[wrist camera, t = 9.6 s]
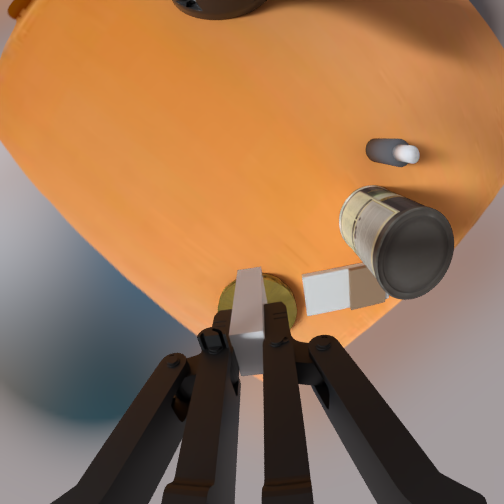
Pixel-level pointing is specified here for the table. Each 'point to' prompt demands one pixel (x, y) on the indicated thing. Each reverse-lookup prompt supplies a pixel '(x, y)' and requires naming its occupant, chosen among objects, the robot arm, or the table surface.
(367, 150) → the grey white-capped bottle
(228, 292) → the olive gold disc
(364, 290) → the white and brown box
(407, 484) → the robot arm
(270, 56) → the table surface
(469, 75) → the table surface
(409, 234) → the coffee can
